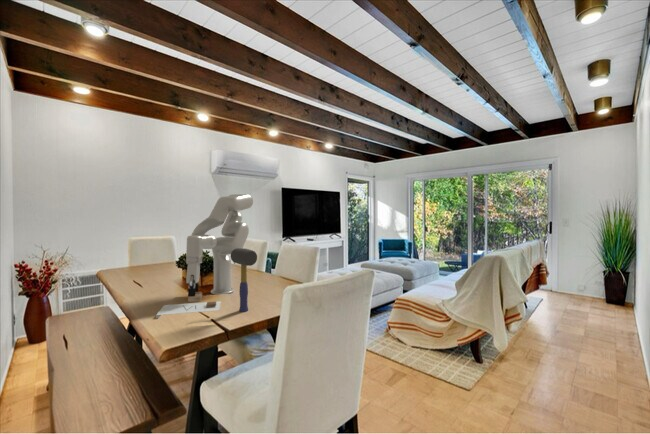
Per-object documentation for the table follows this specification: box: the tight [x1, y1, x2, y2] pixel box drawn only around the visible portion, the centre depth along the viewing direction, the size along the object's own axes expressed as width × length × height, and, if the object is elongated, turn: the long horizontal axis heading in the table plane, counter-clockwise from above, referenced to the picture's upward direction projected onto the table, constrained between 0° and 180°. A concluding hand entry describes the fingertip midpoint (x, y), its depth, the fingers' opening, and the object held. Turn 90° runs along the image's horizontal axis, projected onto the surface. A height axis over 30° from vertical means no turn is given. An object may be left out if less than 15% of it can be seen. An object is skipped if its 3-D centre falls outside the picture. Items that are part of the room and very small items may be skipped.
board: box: [155, 300, 222, 319], centre depth 142 cm, size 14×26×2 cm, turn 105°
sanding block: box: [187, 291, 203, 303], centre depth 153 cm, size 5×6×5 cm
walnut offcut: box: [206, 301, 217, 308], centre depth 144 cm, size 4×4×2 cm
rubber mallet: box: [230, 247, 258, 313], centre depth 138 cm, size 12×8×30 cm, turn 48°
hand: (193, 293), depth 152 cm, fingers open, 9 cm apart
